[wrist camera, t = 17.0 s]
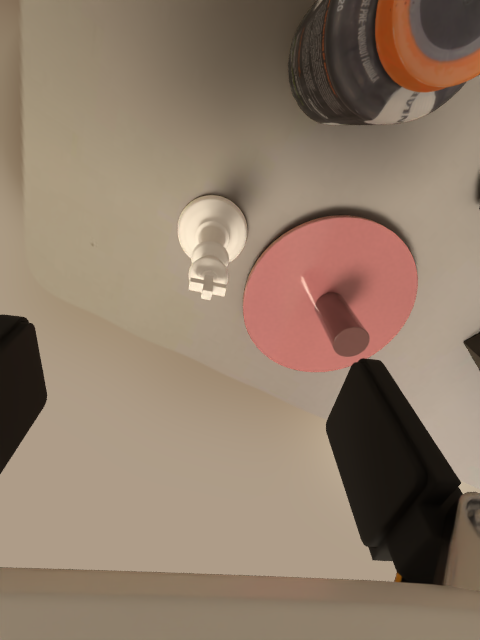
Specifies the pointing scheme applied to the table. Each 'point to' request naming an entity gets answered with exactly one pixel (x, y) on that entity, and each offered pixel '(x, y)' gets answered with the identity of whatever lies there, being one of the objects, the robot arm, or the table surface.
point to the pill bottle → (382, 58)
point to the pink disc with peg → (329, 293)
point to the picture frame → (474, 348)
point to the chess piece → (211, 241)
